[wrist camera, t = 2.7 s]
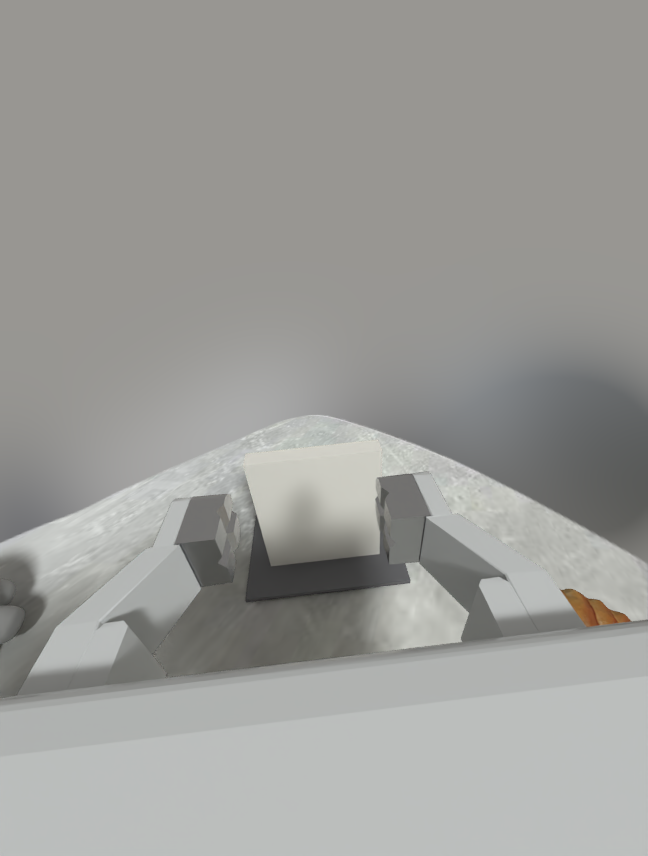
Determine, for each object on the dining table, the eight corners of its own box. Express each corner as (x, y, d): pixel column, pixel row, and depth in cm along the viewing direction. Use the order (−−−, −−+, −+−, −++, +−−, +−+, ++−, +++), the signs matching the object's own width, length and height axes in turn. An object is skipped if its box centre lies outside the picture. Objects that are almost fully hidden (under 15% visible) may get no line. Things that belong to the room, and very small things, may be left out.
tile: (379, 553, 30) (382, 450, 23) (271, 566, 30) (242, 465, 23) (375, 538, 31) (377, 437, 25) (272, 550, 31) (245, 451, 25)
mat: (409, 582, 28) (410, 580, 28) (246, 601, 28) (245, 599, 27) (369, 453, 43) (369, 451, 43) (263, 465, 43) (262, 462, 42)
